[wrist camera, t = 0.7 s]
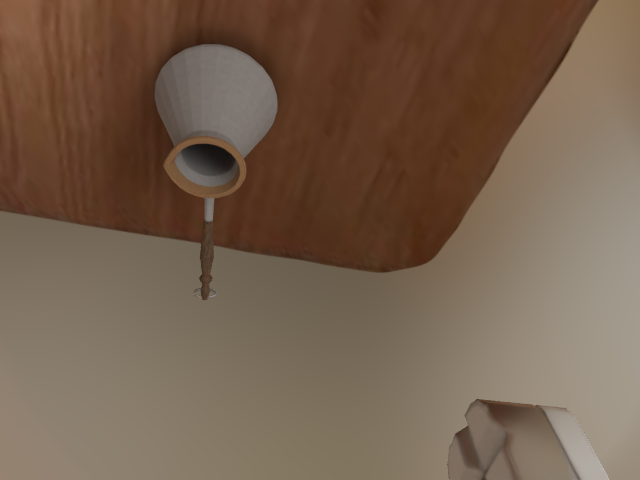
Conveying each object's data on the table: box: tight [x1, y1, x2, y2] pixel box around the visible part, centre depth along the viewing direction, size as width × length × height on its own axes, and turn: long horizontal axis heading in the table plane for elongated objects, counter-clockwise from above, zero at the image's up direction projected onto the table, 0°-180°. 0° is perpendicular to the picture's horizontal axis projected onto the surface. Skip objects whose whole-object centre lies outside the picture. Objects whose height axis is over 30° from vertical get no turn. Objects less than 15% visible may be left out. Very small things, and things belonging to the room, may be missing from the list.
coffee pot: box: [155, 44, 277, 300], centre depth 52 cm, size 21×12×15 cm, turn 171°
